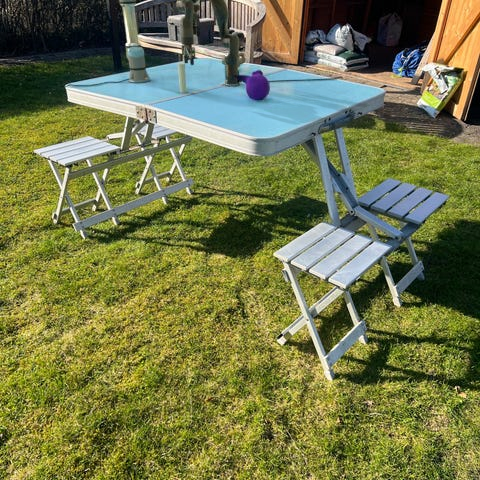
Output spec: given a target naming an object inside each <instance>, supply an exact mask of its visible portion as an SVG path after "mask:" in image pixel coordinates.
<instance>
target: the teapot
mask: <svg viewBox="0 0 480 480" xmlns="http://www.w3.org/2000/svg"><path fill="white" fill-rule="evenodd" d="M240 58H241V59H240ZM245 62H246V56H245V54H244V52H242V51H241V52H239V54H238V69H239V68H240V67H241V65H243V64H244V63H245ZM221 64H222V65H224V66H225V57H223V58H222V59H221Z"/></svg>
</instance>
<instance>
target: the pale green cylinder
mask: <svg viewBox="0 0 480 480" xmlns="http://www.w3.org/2000/svg"><path fill="white" fill-rule="evenodd" d="M177 69H178V71H177V72H178V82H179V91H180V92H179V93H181V94H185V93H188V90H187V89H188V88H187V78H186V66H185V67H184V68H178V67H177Z"/></svg>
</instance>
